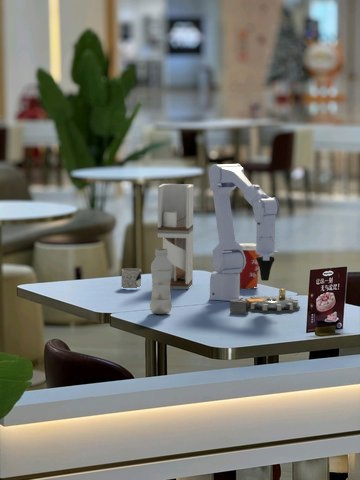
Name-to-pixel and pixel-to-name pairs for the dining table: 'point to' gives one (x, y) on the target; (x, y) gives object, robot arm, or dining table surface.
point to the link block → (239, 307)
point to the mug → (131, 278)
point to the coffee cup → (249, 267)
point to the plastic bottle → (161, 282)
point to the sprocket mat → (274, 310)
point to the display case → (177, 230)
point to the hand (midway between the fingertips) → (264, 280)
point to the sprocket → (273, 302)
